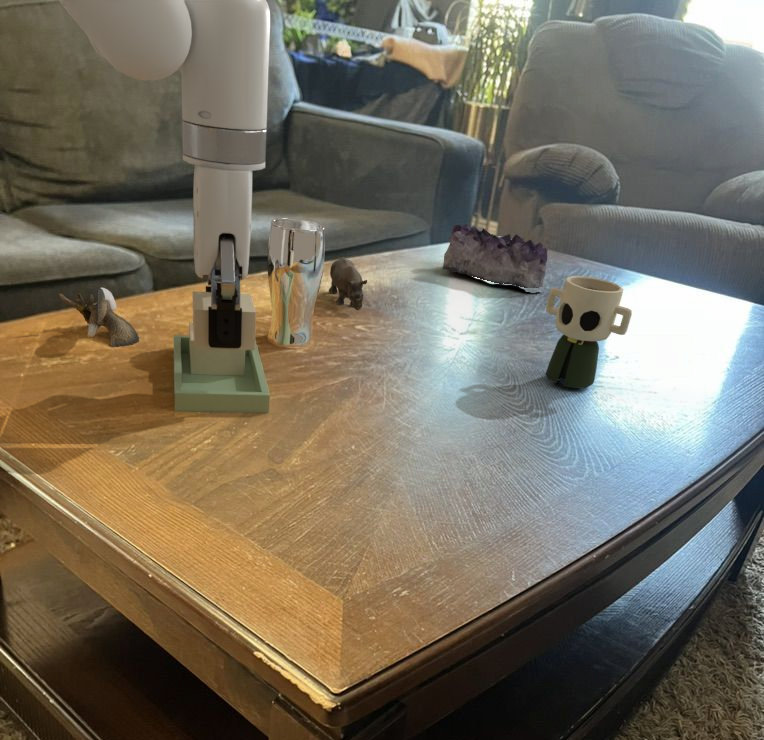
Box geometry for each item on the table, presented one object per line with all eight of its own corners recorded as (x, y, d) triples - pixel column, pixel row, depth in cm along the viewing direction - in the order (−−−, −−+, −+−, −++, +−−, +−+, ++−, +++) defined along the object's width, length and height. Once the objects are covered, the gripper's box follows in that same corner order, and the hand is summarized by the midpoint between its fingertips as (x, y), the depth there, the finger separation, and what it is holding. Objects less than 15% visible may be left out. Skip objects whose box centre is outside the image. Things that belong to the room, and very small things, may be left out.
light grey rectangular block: (194, 348, 78) (194, 309, 76) (193, 328, 83) (192, 291, 81) (254, 350, 79) (256, 312, 77) (249, 330, 84) (250, 294, 82)
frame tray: (269, 416, 82) (270, 395, 81) (174, 414, 79) (174, 392, 78) (254, 356, 96) (255, 338, 95) (173, 354, 93) (173, 334, 92)
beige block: (190, 374, 88) (190, 340, 86) (189, 355, 93) (189, 322, 90) (244, 376, 89) (245, 342, 87) (240, 356, 94) (241, 324, 92)
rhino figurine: (344, 318, 113) (348, 277, 110) (324, 290, 124) (327, 252, 121) (371, 319, 114) (376, 278, 111) (349, 291, 125) (352, 253, 122)
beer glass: (294, 330, 106) (302, 215, 98) (328, 347, 102) (338, 228, 94) (253, 338, 101) (257, 218, 94) (286, 355, 97) (293, 232, 90)
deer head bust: (46, 325, 93) (86, 334, 88) (67, 269, 93) (108, 275, 88) (100, 350, 99) (140, 359, 94) (119, 298, 99) (161, 304, 94)
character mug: (519, 376, 101) (542, 276, 95) (541, 364, 106) (565, 268, 100) (597, 403, 96) (627, 300, 90) (617, 389, 102) (646, 290, 95)
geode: (552, 286, 145) (565, 233, 139) (531, 307, 137) (544, 251, 131) (454, 258, 152) (462, 205, 145) (428, 276, 143) (435, 221, 137)
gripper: (181, 130, 78) (184, 307, 87) (184, 157, 63) (187, 365, 73) (257, 137, 79) (252, 310, 89) (276, 165, 65) (267, 367, 75)
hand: (222, 333), depth 81 cm, fingers closed on light grey rectangular block, 6 cm apart
